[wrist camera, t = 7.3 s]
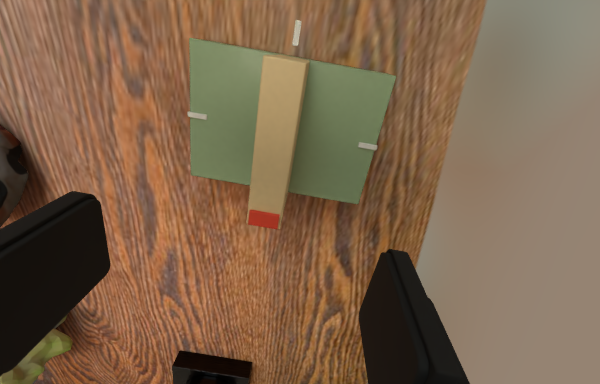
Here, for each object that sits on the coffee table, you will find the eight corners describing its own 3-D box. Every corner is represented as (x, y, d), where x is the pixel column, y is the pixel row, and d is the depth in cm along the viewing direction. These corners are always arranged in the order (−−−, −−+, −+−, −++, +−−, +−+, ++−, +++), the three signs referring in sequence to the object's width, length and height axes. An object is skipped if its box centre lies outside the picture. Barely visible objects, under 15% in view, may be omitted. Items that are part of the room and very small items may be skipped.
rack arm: (277, 54, 19) (261, 54, 14) (310, 60, 19) (307, 63, 14) (261, 188, 23) (245, 226, 18) (287, 192, 23) (279, 232, 18)
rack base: (396, 43, 21) (409, 41, 18) (349, 208, 27) (353, 226, 24) (204, 6, 20) (186, -1, 17) (202, 183, 27) (188, 198, 24)
